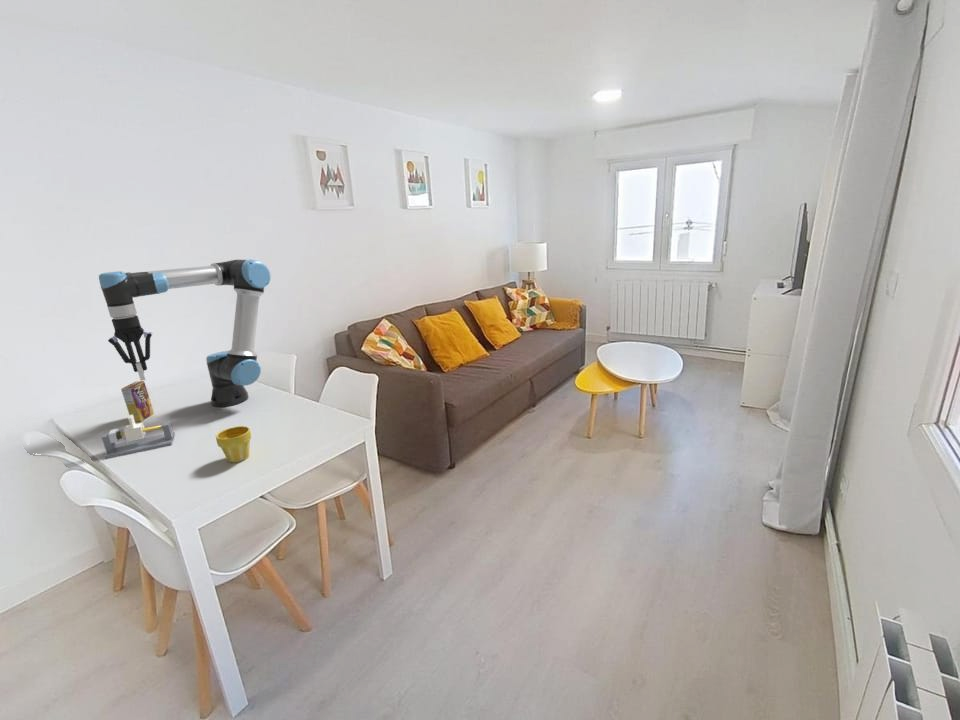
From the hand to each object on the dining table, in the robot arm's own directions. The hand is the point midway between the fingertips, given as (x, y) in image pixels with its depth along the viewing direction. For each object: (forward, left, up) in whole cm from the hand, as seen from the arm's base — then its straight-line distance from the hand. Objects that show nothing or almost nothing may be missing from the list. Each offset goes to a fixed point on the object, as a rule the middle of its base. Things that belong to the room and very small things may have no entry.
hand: (143, 379), depth 168 cm
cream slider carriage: (+5, +5, -20) cm, 22 cm away
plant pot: (-35, +25, -24) cm, 50 cm away
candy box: (+17, -25, -24) cm, 39 cm away
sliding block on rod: (+4, +5, -24) cm, 25 cm away
